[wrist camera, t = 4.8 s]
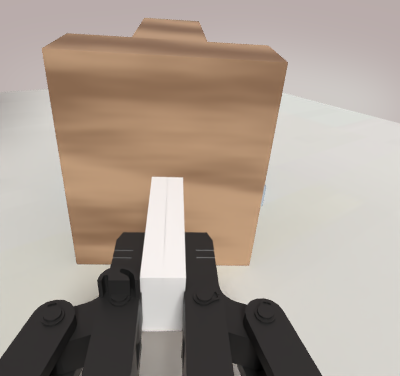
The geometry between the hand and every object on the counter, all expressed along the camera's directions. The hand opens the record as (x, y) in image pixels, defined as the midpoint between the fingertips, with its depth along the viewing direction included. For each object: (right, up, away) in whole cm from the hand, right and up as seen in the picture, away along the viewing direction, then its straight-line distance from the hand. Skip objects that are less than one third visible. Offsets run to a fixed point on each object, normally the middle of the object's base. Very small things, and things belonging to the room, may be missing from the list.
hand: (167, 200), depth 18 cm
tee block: (-1, -1, +13) cm, 13 cm away
